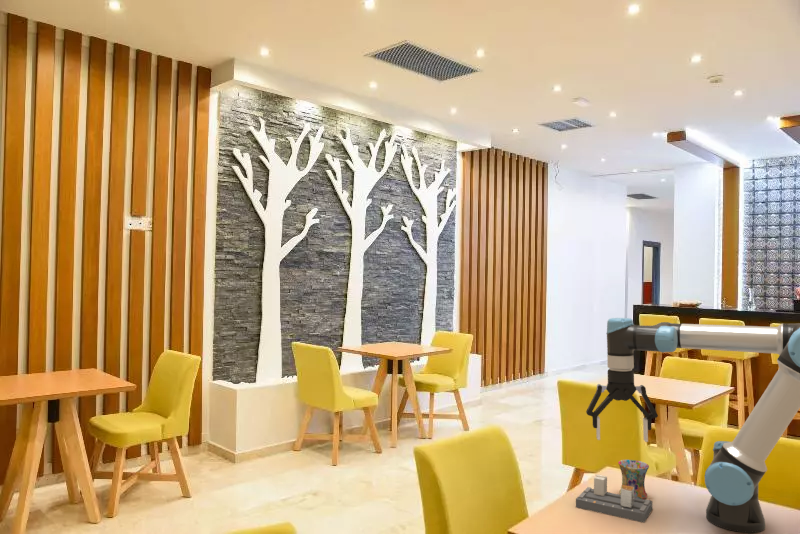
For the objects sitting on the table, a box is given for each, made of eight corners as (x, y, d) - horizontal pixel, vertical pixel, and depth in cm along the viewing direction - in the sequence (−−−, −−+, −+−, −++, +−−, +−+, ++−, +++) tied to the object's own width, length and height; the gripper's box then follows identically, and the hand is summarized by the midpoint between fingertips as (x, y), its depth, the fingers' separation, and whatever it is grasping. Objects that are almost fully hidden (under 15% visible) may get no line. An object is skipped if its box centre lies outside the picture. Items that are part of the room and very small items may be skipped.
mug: (652, 502, 193) (653, 469, 193) (622, 501, 194) (623, 468, 194) (640, 489, 205) (640, 457, 205) (612, 488, 206) (612, 456, 206)
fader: (634, 503, 184) (634, 485, 184) (631, 508, 181) (631, 489, 181) (623, 501, 186) (623, 483, 186) (620, 505, 183) (620, 486, 183)
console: (652, 509, 188) (652, 482, 188) (644, 522, 178) (644, 494, 178) (586, 495, 198) (587, 470, 199) (575, 507, 188) (576, 480, 188)
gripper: (661, 368, 186) (663, 438, 186) (576, 366, 191) (577, 435, 190) (667, 371, 179) (668, 444, 178) (578, 370, 184) (580, 441, 183)
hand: (621, 439), depth 184 cm, fingers open, 13 cm apart
